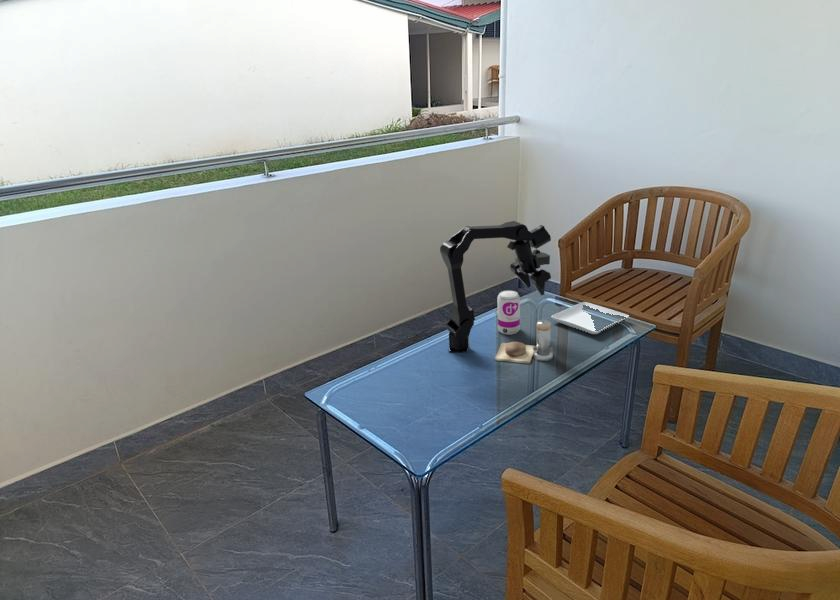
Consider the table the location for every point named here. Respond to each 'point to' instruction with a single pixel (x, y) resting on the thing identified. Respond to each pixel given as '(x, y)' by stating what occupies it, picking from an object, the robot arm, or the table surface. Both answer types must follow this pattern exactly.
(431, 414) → the table surface
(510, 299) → the supplement can
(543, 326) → the grey tall flared piece
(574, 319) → the salad plate
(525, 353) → the beige square tile
